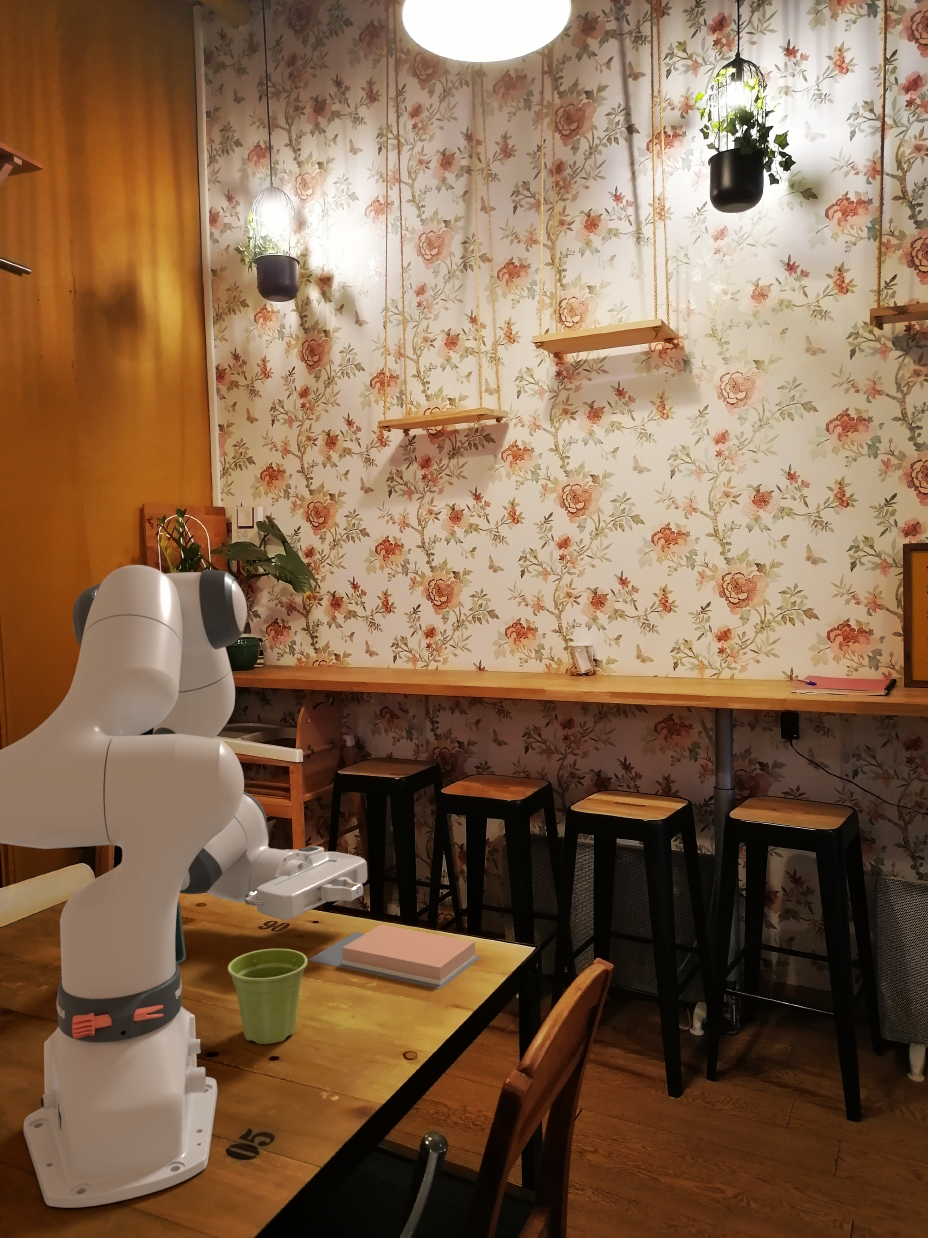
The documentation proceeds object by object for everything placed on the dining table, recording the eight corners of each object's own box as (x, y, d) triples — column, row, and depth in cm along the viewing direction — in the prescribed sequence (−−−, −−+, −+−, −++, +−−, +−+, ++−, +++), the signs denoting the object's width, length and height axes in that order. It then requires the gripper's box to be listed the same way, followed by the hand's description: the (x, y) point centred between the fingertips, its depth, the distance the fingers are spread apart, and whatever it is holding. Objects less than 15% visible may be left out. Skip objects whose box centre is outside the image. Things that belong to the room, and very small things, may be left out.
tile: (342, 947, 133) (440, 967, 125) (381, 924, 141) (474, 942, 134) (342, 964, 133) (440, 985, 125) (381, 940, 141) (474, 958, 134)
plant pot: (227, 1022, 116) (225, 953, 116) (303, 1010, 119) (301, 943, 119) (232, 1058, 107) (230, 984, 107) (314, 1044, 110) (312, 972, 110)
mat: (307, 962, 134) (307, 960, 134) (355, 934, 145) (355, 932, 145) (440, 992, 124) (440, 989, 124) (481, 959, 135) (481, 956, 135)
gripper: (236, 879, 134) (313, 892, 128) (322, 843, 152) (394, 853, 146) (237, 922, 135) (314, 938, 128) (323, 881, 153) (394, 893, 146)
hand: (357, 892), depth 137 cm, fingers closed
